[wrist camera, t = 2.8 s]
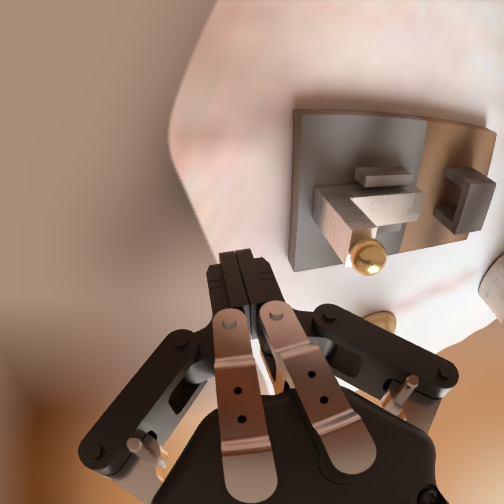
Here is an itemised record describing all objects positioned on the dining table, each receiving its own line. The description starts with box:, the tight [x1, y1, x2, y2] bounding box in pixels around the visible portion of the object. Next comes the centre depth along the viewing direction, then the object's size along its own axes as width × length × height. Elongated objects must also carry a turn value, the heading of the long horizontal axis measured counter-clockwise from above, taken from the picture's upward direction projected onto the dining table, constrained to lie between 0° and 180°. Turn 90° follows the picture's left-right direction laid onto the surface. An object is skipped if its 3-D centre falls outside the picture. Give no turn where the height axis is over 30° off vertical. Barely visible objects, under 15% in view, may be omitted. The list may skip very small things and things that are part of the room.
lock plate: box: [289, 110, 497, 272], centre depth 21 cm, size 20×12×5 cm, turn 92°
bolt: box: [312, 182, 425, 275], centre depth 18 cm, size 8×2×7 cm, turn 92°
